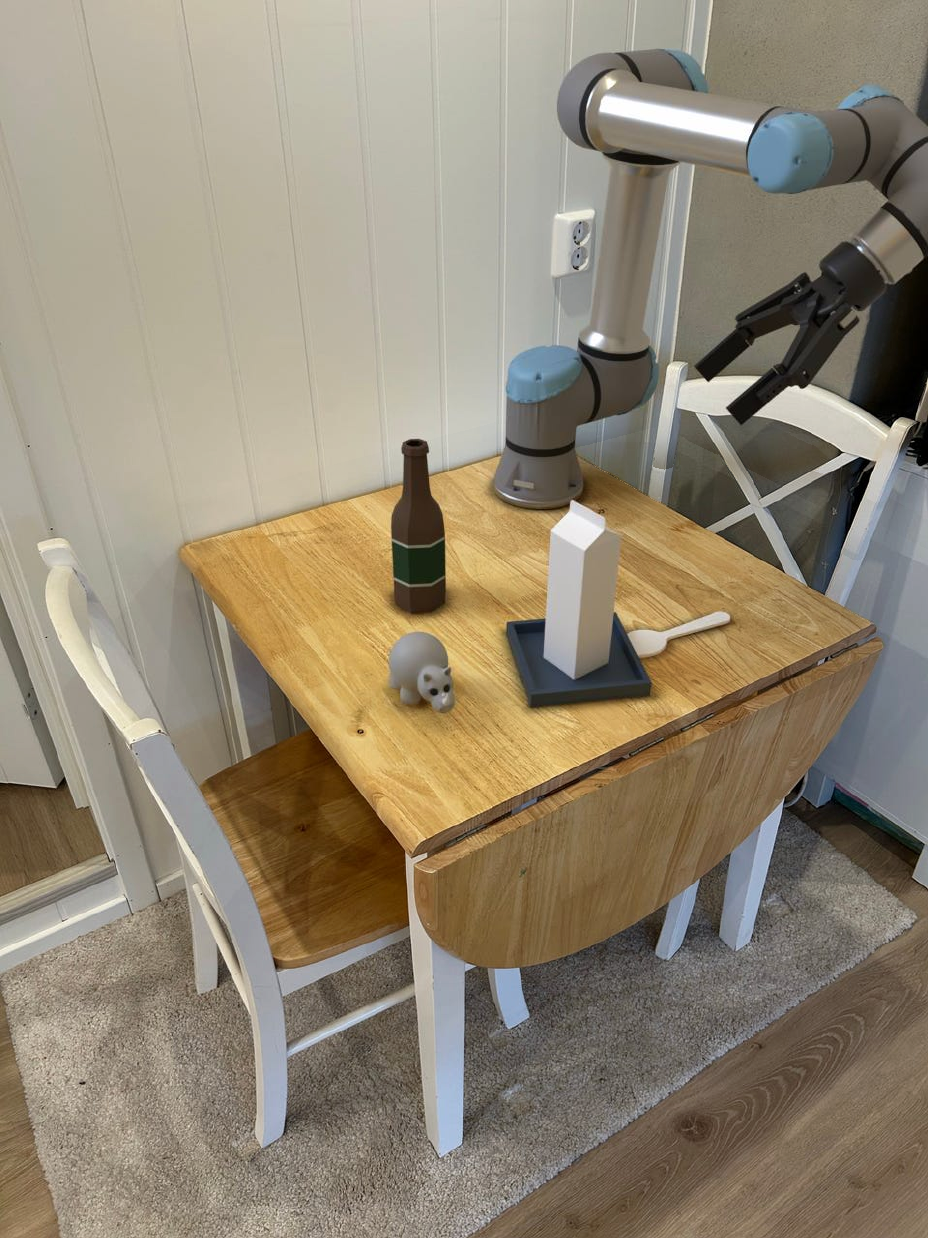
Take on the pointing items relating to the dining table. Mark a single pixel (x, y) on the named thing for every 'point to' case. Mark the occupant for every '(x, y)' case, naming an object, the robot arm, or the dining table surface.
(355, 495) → the dining table surface
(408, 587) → the beer bottle
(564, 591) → the milk
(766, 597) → the dining table surface
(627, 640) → the tray
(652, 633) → the spoon
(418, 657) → the toy rhinoceros
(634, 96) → the robot arm
